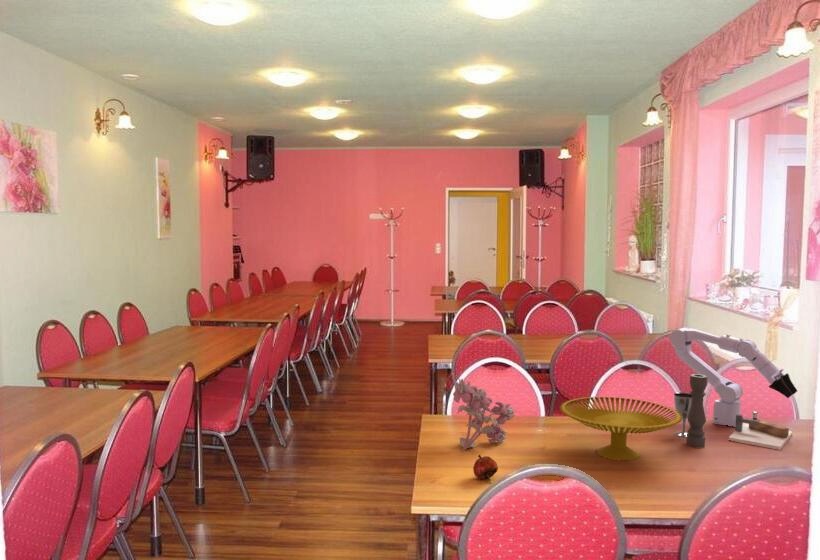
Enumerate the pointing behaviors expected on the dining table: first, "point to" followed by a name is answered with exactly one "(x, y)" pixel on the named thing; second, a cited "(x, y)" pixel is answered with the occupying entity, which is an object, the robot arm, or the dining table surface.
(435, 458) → the dining table surface
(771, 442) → the white plate
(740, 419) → the metal keeper
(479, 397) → the flower
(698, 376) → the candle holder
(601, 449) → the pedestal fruit bowl
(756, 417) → the metal pin
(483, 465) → the pomegranate
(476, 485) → the dining table surface
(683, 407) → the wine glass
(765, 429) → the walnut link
